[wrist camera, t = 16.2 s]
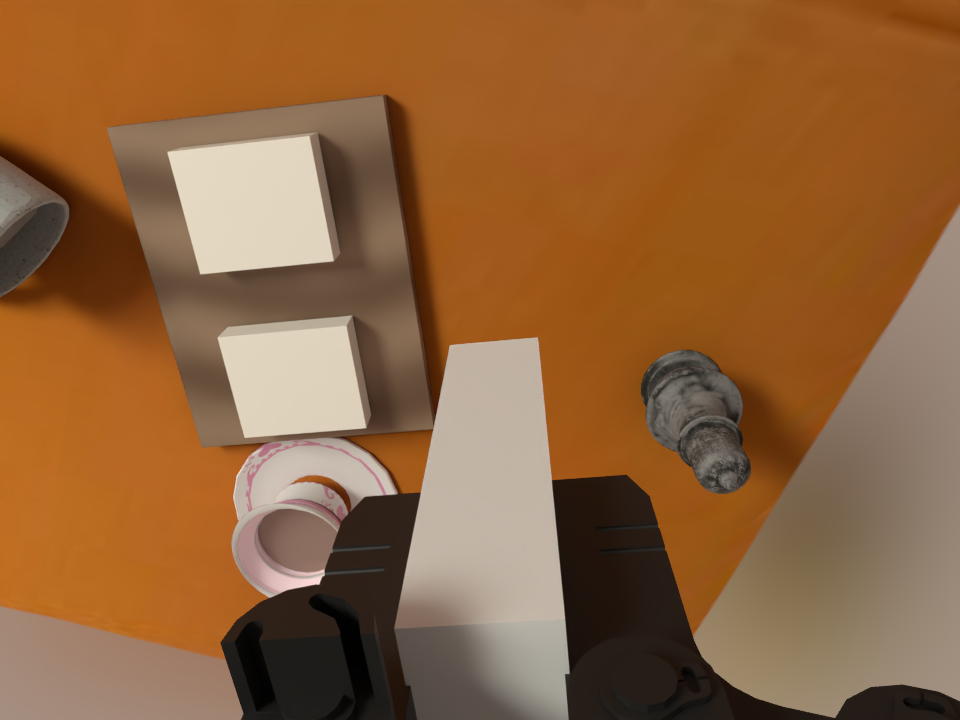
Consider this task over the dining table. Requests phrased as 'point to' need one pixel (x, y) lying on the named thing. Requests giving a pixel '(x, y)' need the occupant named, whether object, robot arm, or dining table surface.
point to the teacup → (297, 508)
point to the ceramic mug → (26, 224)
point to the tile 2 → (296, 376)
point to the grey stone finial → (697, 418)
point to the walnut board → (287, 289)
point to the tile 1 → (256, 203)
